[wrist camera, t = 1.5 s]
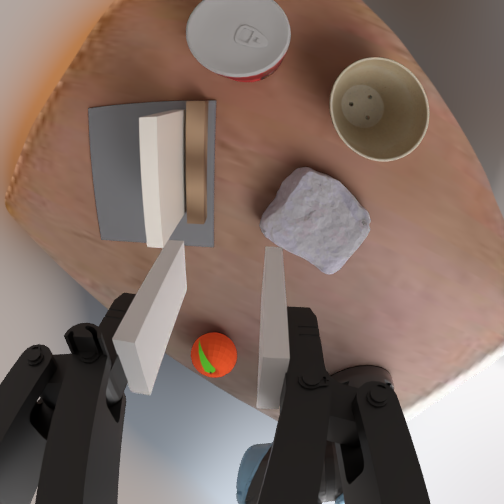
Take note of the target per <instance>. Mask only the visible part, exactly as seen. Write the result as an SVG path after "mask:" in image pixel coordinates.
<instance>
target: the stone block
mask: <svg viewBox="0 0 504 504" xmlns="http://www.w3.org/2000/svg"><path fill="white" fill-rule="evenodd" d="M370 222H371V219H370V217H369V213H368V211H367V210H366V209H365V208H364V207H363V206H361V205H360V203H359V202H358V201H357V200H356V198H355V197H354V196H353V195H352V194H351V193H350V191H349V190H348V189H347V188H346V187H345V186H344V185H343V184H342V183H341V182H340V181H338V180H337V179H334V178H332V177H331V176H328V175H327V174H324V173H320V172H317V171H315V170H313V169H311V168H309V167H301V168H297V169H296V170H294V171H293V172H292V174H290V175H289V176H288V177H287V178H286V179H285V180H284V181H283V182H282V184H281V186H280V189H279V191H277V195H276V197H275V199H274V200H273V201H272V202H271V204H270V205H269V206H268V207H267V209H266V210H265V212H264V213H263V215H262V218H261V220H260V224H259V226H260V228H261V231H262V233H263V234H264V235H265V237H267V238H268V239H269V240H271V241H272V242H273V243H275V244H276V245H278V246H280V247H282V248H283V249H285V250H287V251H289V252H291V253H293V254H295V255H297V256H300V257H302V258H304V259H306V260H307V261H309V262H310V263H311V264H313V265H315V266H316V267H317V268H318V269H319V270H320V271H322V272H323V273H325V274H333V273H335V272H337V271H338V270H340V269H341V267H342V266H343V265H344V264H345V262H346V261H347V260H348V259H349V257H350V256H351V255H352V254H353V253H354V252H355V251H356V250H357V249H358V248H359V246H360V245H361V243H362V242H363V241H364V239H365V238H366V237H367V235H368V233H369V231H370V227H369V223H370Z"/></svg>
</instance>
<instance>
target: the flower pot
mask: <svg viewBox="0 0 504 504" xmlns="http://www.w3.org/2000/svg"><path fill="white" fill-rule="evenodd" d="M368 96H370V97H369V98H368ZM350 104H352V106H350ZM329 109H330V116H331V119H332V123H333V125H334V127H335V130H336V131H337V133H338V135H339V136H340V138H341V139H342V140H343V142H344V143H345V144H346V145H347V146H348V147H349V148H350V149H351V150H353V151H354V152H355V153H357V154H359V155H360V156H362V157H365V158H367V159H370V160H374V161H393V160H397V159H400V158H402V157H404V156H406V155H408V154H409V153H411V152H412V151H413V150H414V149H415V148H416V147H417V146H418V145H419V144H420V142H421V141H422V139H423V137H424V135H425V133H426V130H427V127H428V123H429V104H428V99H427V96H426V93H425V91H424V89H423V87H422V85H421V83H420V82H419V80H418V79H417V78H416V76H415V75H414V74H413V73H412V72H411V71H410V70H408V69H407V68H406V67H405V66H403V65H401V64H400V63H398V62H396V61H393V60H391V59H387V58H382V57H369V58H364V59H361V60H358V61H356V62H354V63H352V64H351V65H349V66H348V67H347V68H345V69H344V70H343V71H342V72H341V74H340V75H339V76H338V78H337V79H336V81H335V83H334V85H333V87H332V90H331V93H330V100H329ZM368 116H369V118H368Z"/></svg>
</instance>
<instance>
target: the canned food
mask: <svg viewBox="0 0 504 504" xmlns="http://www.w3.org/2000/svg"><path fill="white" fill-rule="evenodd" d="M290 37H291V32H290V25H289V22H288V19H287V16H286V15H285V13H284V11H283V9H282V8H281V7H280V6H279V5H278V4H277V3H276V2H275V1H273V0H203V1H202V2H200V3H199V4H198V5H197V6H196V7H195V9H194V10H193V12H192V13H191V15H190V17H189V20H188V22H187V27H186V40H187V43H188V46H189V49H190V50H191V52H192V54H193V56H194V57H195V58H196V59H197V60H198V61H199V62H200V63H201V64H202V65H203V66H204V67H206V68H207V69H209V70H211V71H213V72H215V73H217V74H219V75H221V76H224V77H227V78H230V79H233V80H236V81H240V82H254V81H259V80H262V79H264V78H267V77H268V76H270V75H271V74H273V73H274V72H275V71H276V70H277V69H278V67H279V66H280V64H281V62H282V60H283V58H284V56H285V54H286V52H287V49H288V47H289V43H290Z"/></svg>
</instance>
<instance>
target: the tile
mask: <svg viewBox="0 0 504 504" xmlns="http://www.w3.org/2000/svg"><path fill="white" fill-rule="evenodd" d="M139 139H140V164H141V182H142V196H143V208H144V220H145V230H146V239H147V247H155V248H164V246H165V244H166V243H167V241H168V239H169V238H170V236H171V234H172V233H173V231H174V230H175V228H176V226H177V225H178V223H179V222H180V220H181V218H182V217H183V215H184V214H185V212H186V211H187V204H186V109H182V110H169V111H165V112H160V113H156V114H152V115H147V116H143V117H139Z"/></svg>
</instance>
